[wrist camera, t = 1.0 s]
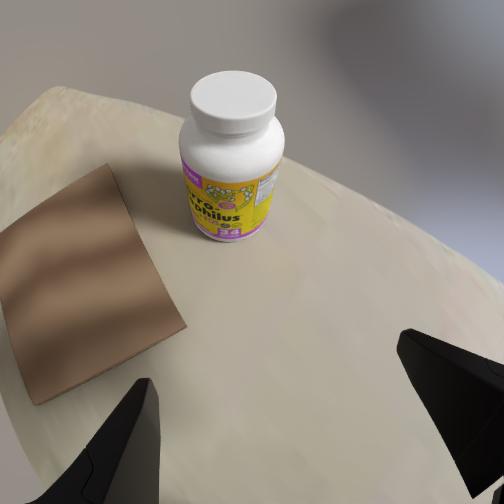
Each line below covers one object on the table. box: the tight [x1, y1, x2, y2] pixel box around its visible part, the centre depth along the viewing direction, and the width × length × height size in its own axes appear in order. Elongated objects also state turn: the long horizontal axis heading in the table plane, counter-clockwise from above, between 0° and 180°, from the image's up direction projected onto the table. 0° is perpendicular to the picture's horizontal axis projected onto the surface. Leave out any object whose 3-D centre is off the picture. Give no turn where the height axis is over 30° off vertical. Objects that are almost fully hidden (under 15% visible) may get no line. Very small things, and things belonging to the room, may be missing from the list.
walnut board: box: [0, 163, 187, 405], centre depth 21 cm, size 18×16×1 cm
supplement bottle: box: [179, 71, 285, 242], centre depth 20 cm, size 7×7×13 cm
